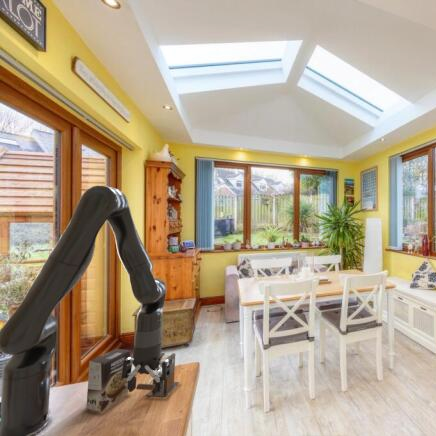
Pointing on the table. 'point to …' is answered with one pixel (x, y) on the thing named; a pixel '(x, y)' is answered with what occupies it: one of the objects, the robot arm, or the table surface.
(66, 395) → the table surface
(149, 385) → the switch lever
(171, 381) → the switch bracket
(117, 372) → the coffee box
